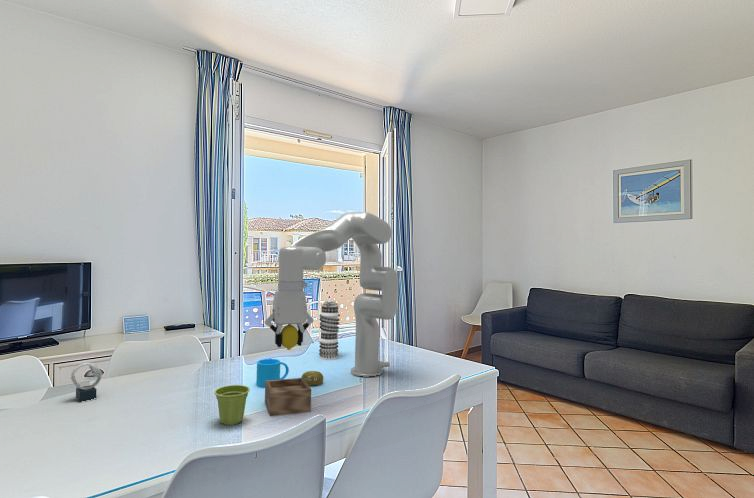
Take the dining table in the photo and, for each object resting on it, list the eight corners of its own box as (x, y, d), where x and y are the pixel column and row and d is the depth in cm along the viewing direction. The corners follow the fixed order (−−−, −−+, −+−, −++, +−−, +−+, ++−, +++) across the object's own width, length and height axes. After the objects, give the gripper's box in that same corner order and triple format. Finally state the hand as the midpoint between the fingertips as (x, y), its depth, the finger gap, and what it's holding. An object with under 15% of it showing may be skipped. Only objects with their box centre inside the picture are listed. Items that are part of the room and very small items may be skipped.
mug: (262, 389, 146) (262, 366, 146) (252, 383, 152) (253, 360, 152) (293, 383, 154) (294, 361, 154) (283, 377, 160) (283, 356, 160)
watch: (103, 397, 134) (104, 362, 134) (72, 403, 129) (73, 367, 129) (98, 393, 138) (100, 359, 138) (68, 398, 132) (69, 363, 132)
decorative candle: (321, 354, 197) (322, 300, 197) (340, 355, 196) (342, 301, 196) (315, 359, 188) (317, 302, 188) (336, 360, 187) (337, 303, 187)
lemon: (281, 347, 134) (281, 322, 134) (298, 347, 134) (299, 322, 134) (278, 352, 128) (279, 325, 128) (297, 352, 129) (297, 325, 129)
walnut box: (302, 399, 139) (303, 377, 139) (310, 412, 128) (311, 389, 128) (264, 402, 134) (265, 380, 134) (269, 417, 123) (270, 393, 123)
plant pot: (214, 430, 113) (215, 397, 113) (212, 417, 122) (213, 386, 122) (250, 425, 117) (251, 393, 117) (246, 412, 125) (247, 383, 125)
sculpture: (321, 369, 159) (325, 375, 152) (321, 379, 159) (324, 386, 152) (300, 370, 157) (302, 376, 149) (299, 381, 157) (302, 387, 149)
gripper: (313, 285, 138) (312, 341, 138) (259, 286, 131) (258, 345, 131) (321, 287, 132) (319, 346, 132) (264, 288, 124) (263, 350, 124)
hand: (289, 345), depth 131 cm, fingers closed on lemon, 5 cm apart
